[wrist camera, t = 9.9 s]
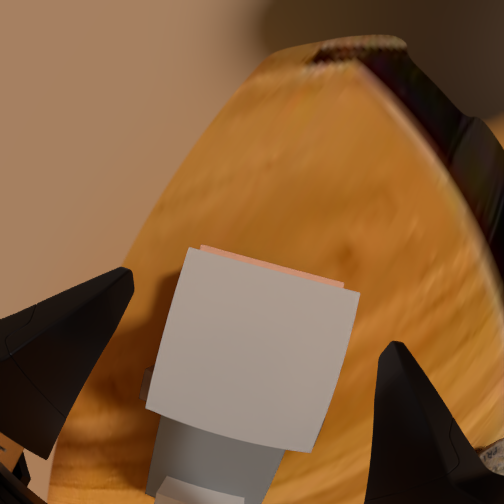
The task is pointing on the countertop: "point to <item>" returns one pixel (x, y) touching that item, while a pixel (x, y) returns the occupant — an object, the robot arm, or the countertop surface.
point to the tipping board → (214, 449)
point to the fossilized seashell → (494, 456)
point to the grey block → (251, 352)
